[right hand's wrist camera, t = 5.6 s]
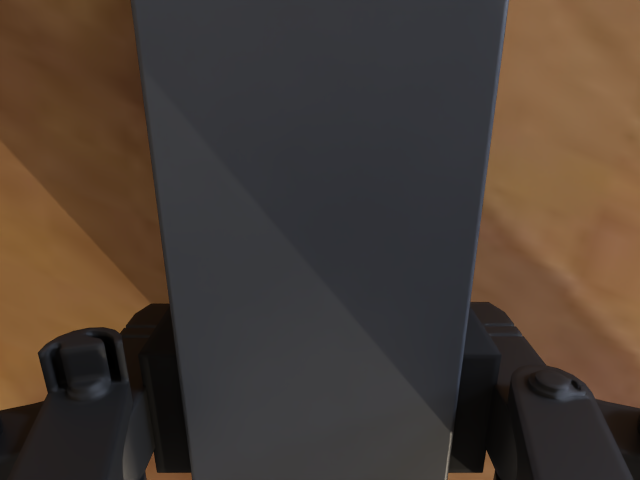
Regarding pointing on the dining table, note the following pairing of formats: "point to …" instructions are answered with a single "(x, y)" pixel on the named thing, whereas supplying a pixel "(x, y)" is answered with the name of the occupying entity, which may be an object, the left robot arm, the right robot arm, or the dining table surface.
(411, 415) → the beam
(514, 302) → the dining table surface
